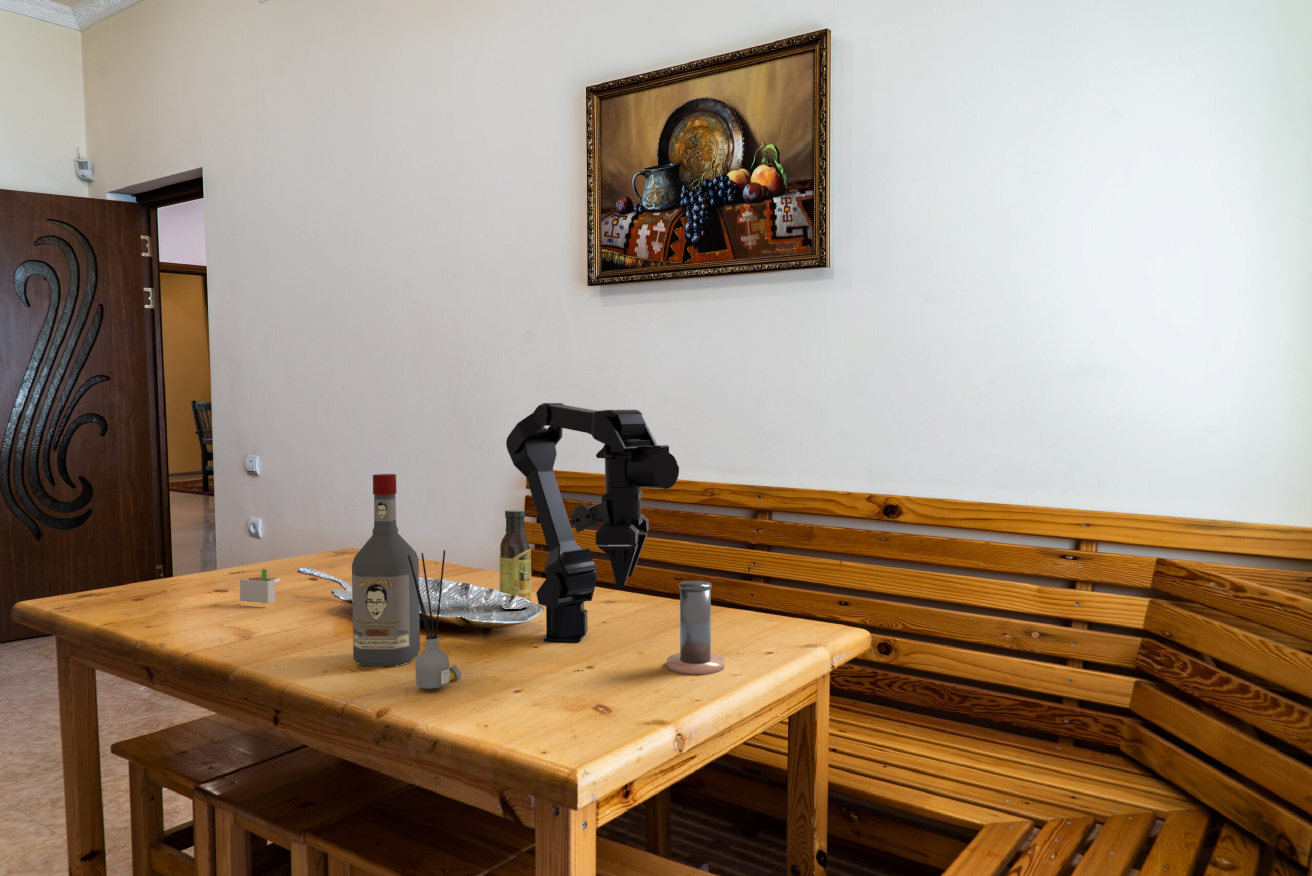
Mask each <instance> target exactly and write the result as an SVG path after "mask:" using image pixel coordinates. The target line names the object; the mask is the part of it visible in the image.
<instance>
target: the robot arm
mask: <svg viewBox="0 0 1312 876" xmlns="http://www.w3.org/2000/svg"><path fill="white" fill-rule="evenodd" d="M545 426H547V428H546V427H545ZM563 429H567V430H571V431H576V432H582V433H586V434H587V435H588V434H589V435H591V437H592V438H593V439H594V440H595V441H598V442H599V443H601V444H603V447H602V448H601V449H600V450H599V451H597V453H596V454H595V457H596V458H597V459H604V479H605V480H604V482H605V483H604V484H605V489H604V490H605V493H603V494H602V495H601V502H599V503H595V504H593V505H591V506H588V505H587V504H586V503H582V504H580V505H577V506H574V508H573V513H570V518H571V520H569V517H568V513H567V509H566V508H565V504H564V501H563V498H562V494H561V492H560V489H559V485H558V481H557V478H556V475H555V472H554V466H555V462H556V458H557V454H558V453H557V444H559V442H560V441H561V439H563ZM505 444H506V450H507V452H508V455H509V457H510V460H511V461H512V464H513V466H514V467H515V468H516V469H517V470H518V471H520V473H521V474H522V475H523V476H524V477H525V478H526V481H527V484H528V487H529V491H530V493H531V497H532V500H533V503H534V506H535V507H534V508H535V511H536V514H537V517H538V520H539V523H540V526H541V529H542V530H541V531H542V534H543V537H544V540H545V544H546V546H547V547H546V548H547V550H548V552H547V553H548V554H547V558H546V561H545V566H544V572H545V580H544V581H543V583H542V584H541V585H540V587H539V588H538V589H537V591H536V599H537V603H538V605H539V606H542V607H543V606H544V607H545V614H546V615H545V620H546V621H545V623H546V624H545V625H546V626H545V627H546V628H545V630H546V633H545V634H546V635H544V637H543V641H545V642H575V643H579V642H581V641H582V640H583V638H584V637H585V636H586V634H587V633H588V625H589V624H588V610H587V609H585V602H591V601H592V600H593V596H594V593H595V588H596V585H597V581H598V575H597V572H596V571H597V570H598V567H597V566H596V564H595V562H594V557H593V553H592V551H591V550H590V549H591V548H588V547H587V548H582V547H580V545H578V543H577V542H576V540H575V537H574V533H573V530H572V526H571V524H572V525H573V526H574V529H575V532H576V533H580V532H583V531H585V530H586V529H587V528H590V527H592V526H596V525H598V524H601V526H600V527H599V529H598V530H597V531H595V545H596V546H597V547H598V549H599V550H601V551H602V552H604V553H605V554H606V555H608V558H609V561H610V565H611V569H612V572H613V573H612V574H613V575H614V576H613V577H614V580H615V585H616V587H617V588H624V587H625V585H626V582H627V579H628V578H630V577H632V576H633V573H634V571H635V568H636V566H637V563H638V561H639V558H640V555H641V552H642V549H643V547H644V545H645V543H646V542H645V541H646V538H647V537H648V532H649V530H650V528H649V525H650V523H649V520H650V519H649V518H648V517H647V516H646V515H645V514H644V513H641V512H642V508H641V504H642V503H641V502H642V500H641V499H642V498H643V491H642V490H641V488H649V489H663V490H668V489H670V488H672V487H673V486H674V485H676V483H677V482H678V481H677V480H678V479H679V474H680V466H679V465H678V462H677V459H676V458H675V456H674V455H673V454H671V453H670V446H669V445H668V444H663V445H661V444H660V445H658V443H657V441H656V439H655V438H654V436H653V433H652V432H651V431H650V428H649V427H648V425H647V422H646V420H645V419H644V416H643V413H642V412H641V411H640V410H637V409H603V410H594V409H590V408H583V407H579V406H578V407H577V406H571V405H565V404H563V403H562V402H544V403H541V404H538V405H537V407H535V409H534V411H533V412H532V413H530V414H529V415H527V416H526V417H525V418H523V419H522V420H520V421H519V422H518V423H516V425H514V428H513V429H512V430H511V431H510V433H509V435H508V436H507V438H506V441H505ZM640 531H643V532H640Z"/></svg>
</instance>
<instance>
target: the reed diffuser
mask: <svg viewBox="0 0 1312 876" xmlns="http://www.w3.org/2000/svg"><path fill="white" fill-rule="evenodd" d="M420 554H421V562H422V568H423V574H424V575H423V576H424V582H425V589H426V597H427V601H428V603H427V604H428V610H429V616H430V617H429V618H430V624H431V627H430V624H429V620H428V615H427V613H426V609H425V606H424V601H423V598H422V596H421V595H422V594H421V591H420V586H419V587H418V584H417V580H416V576H415V573H414V569H413V565H412V561H411V559H410V555H408V558H409V562H410V566H411V570H412V574H413V578H414V582H415V587H416V591H417V595H418V600H419V609H420V612H421V616H422V620H423V624H424V625H423V626H424V629H425V634H426V637H425V638H424V639H425V640H424V641H425V642H424V643H425V644H424V646H425V647H424V648H425V650H423V651H422V652H421V653H420V654H419V655H417V656H416V657H415V658H416V659H415V663H414V664H415V665H414V667H415V682H416V686H417V687H418V688H419V689H438V688H442V687H445V686H447V685H448V684H449V682H452V680H454V679H455V680H456V681H457V680H459V679H461V678H462V677H463V676H462V672H461V670H460V669H459V668H458V666H456V665H455V664H453V665H451V666H450V659H449V655H448V654H446V653H445V652H444V651H442V650H441V649H440V648H439V646H440V645H439V636H438V631H439V620H440V608H441V599H442V588H443V579H444V571H445V570H444V568H445V567H444V566H445V558H446V550H445V549H444V550H443V552H442V563H441V572H440V573H441V574H440V584H439V593H438V604H437V612H436V625H435V626H434V621H433V614H432V606H431V600H430V592H429V591H430V590H429V585H428V579H427V571H426V564H425V557H424V552H421V553H420Z"/></svg>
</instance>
